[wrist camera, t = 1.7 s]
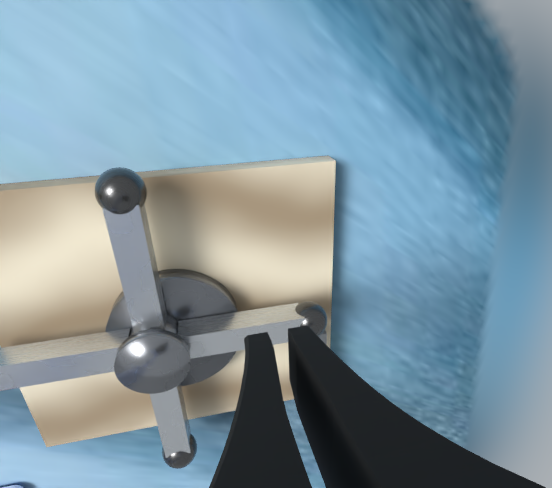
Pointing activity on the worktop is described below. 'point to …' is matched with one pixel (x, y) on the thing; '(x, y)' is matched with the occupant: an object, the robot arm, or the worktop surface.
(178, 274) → the cam capstan
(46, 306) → the stand plate
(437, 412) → the worktop surface
